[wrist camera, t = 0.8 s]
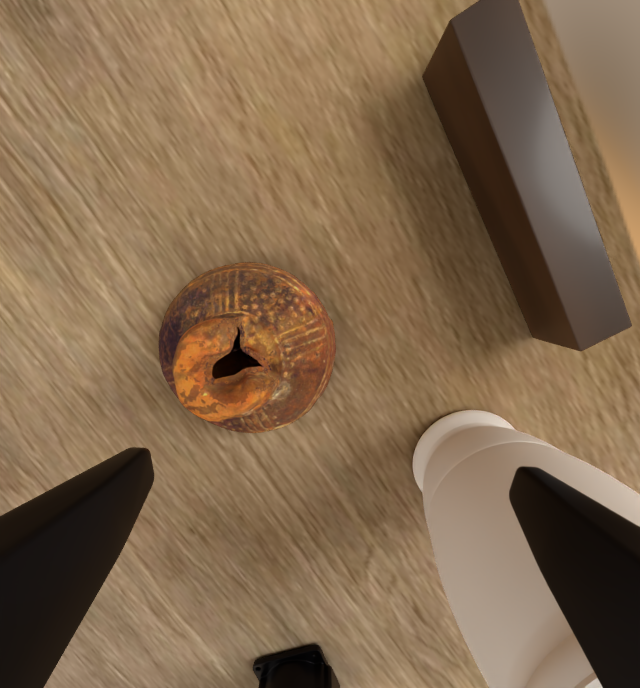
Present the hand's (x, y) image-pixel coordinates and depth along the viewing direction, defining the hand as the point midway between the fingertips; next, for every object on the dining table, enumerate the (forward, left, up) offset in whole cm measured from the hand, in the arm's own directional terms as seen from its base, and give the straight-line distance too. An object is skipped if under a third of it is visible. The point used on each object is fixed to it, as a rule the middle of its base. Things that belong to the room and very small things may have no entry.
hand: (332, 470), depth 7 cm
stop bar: (+14, +5, -14) cm, 20 cm away
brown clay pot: (-5, +1, -14) cm, 15 cm away
